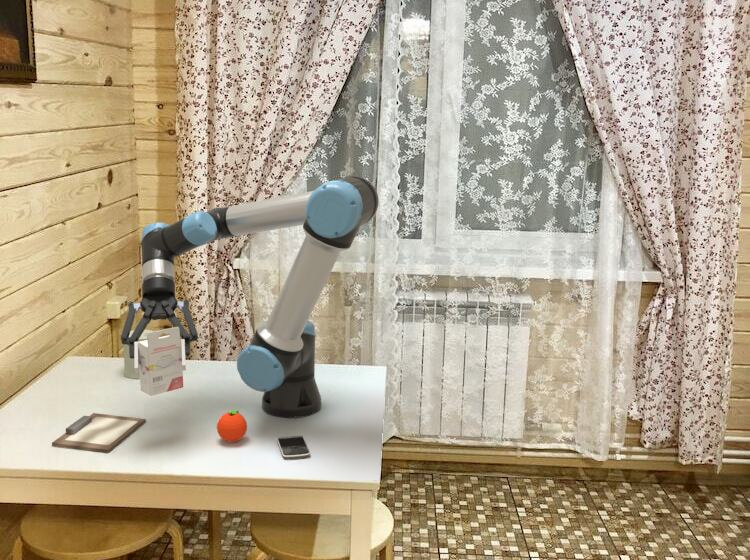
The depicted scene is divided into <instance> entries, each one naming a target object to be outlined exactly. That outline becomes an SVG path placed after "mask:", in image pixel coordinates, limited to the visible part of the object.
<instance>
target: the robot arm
mask: <svg viewBox="0 0 750 560" xmlns="http://www.w3.org/2000/svg"><path fill="white" fill-rule="evenodd" d="M379 202H380V199H379V194H378V191H377V189H376V187H375V186H374V184H372V182H371V181H369V180H368V179H366V178H364V177H362V176H358V175H348V176H345V177H341V178H339V179H337V180H331V181H330V180H329V181H327V182H324V183H322V184H321V185H320V186H318V187H317V188H316V189H314V190H310V191H305V192H300V193H294V194H288V195H284V196H279V197H274V198H268V199H263V200H257V201H252V202H248V203H242V204H237V205H232V206H231V205H230V206H227V207H226V206H225V207H224V206H223V207H222V206H221V207H220V206H219V207H215V208H211V210H207V211H204V210H198V211H195V212H193V213H190V214H187V216H185V217H184V218H180V219H179V220H178V221H176V222H174V223H172V224H170V225H169V224H167V223H166V222H160V221H159V222H156V223H153V222H152V223H149V224H147V225H146V226H144V227H143V229H142V232H141V242H140V247H141V282H142V284H141V298H142V299H141V301H140V302H137V303H134V302H132V301H130V302H128V305H127V306H128V313H127V316H126V319H125V321H124V322H125V323H124V326H123V330H122V332H121V334H120V341H121V344H122V345H123V344H124V345H125V344H127V345H129V355H130V358H134V363H135V373H139V356H138V342H137V341H138V340H139V338H140V336H141V335H142V333H143V331H144V330H146V329H147V326H148V325H149V324H150V323H151V321H157V320H168V321H169V323H171V326H173V328H174V327H179V330H180V340H181V348H182V371H186V370H187V368H186V366H187V365H186V356H190V354H191V343H192V342H196V341H198V337H199V336H198V331H197V328H196V325H195V322H194V319H193V317H192V313H191V311H190V301H189V300H188V299H184V300H183V301H178V299H176V284H175V280H176V279H175V278H176V277H175V274H176V273H175V258H178V257H180V256H182V255H184V254H186V253H188V252H190V251H192V250H194V249H196V248H199V247H202V246H204V245H206V244H207V245H208V244H209V243H213V242H215V241H219V240H222V239H226V238H227V239H228V238H233V237H238V236H245V235H249V234H257V233H262V232H267V231H274V230H278V229H279V230H280V229H285V228H292V227H298V226H302V230H303V232H304V234H305V237H304V239H303V241H302V244H301V246H300V248H299V249H298V253H297V255H296V257H295V259H294V261H293V263H292V265H291V267H290V270H289V272H288V275H287V277H286V279H285V281H284V284H283V285H282V288H281V290H280V292H279V294H278V297H277V299H276V301H275V304H274V305H273V308H272V310H271V312H270V314H269V317H268V319H267V320H266V321H264V322H261V323H260V324H258V326H257V328H256V329H255V332H254V335H253V336H252V338H251V341H250V342H249V345H248V346H245V347H244V348H243V349H242V350H241V351H240V353H239V355H238V356H237V360H236V370H237V373H239V377H240V379H241V381H243V383H244V384H245V385H246V386H247V387H249V388H250V389H252V390H254V391H257V392H261V393H262V392H263V395H262V397H261V407H262V408H261V409H262V410H263V411H264V412H265V413H267V414H269V415H271V416H275V417H281V418H301V417H307V416H310V415H313V414H316V413H317V412H319V409H321V408H322V397H321V396H322V395H321V394H320V390H319V387H318V385H317V382H316V378H315V369H316V367H315V365H316V336H317V335H316V329H315V325H314V323H313V322H311V321H309V320H310V317H311V316H312V313H313V311H314V309H315V307H316V306H317V302H318V301H319V298H320V296H321V294H322V292H323V290H324V288H325V285H326V284H327V281H328V279H329V276H330V275H331V273H332V271H333V269H334V266H335V264H336V262H337V260H338V258H339V255H340V254H341V252H343V251H346V250H349V249H350V248H351V246H352V244H353V242H354V239H355V238H356V235H357V233H358V232H359V229H360V227H361V226H363V225H365V224H367V223H368V222H370V221H371V220H372V219H373V218H374V216H376V213H377V211H378V209H379ZM177 308H178V309H179V310H180V311H181V312H183V317H184V320H185V322H186V325H187V328H188V331H189V333H188V332H187V330H186V329H185V327H184V326H183V325H182V323H181V322H180V320H179V319H178V317H177V316H176V314H175V311H176V310H177ZM139 310H141V311H142V312H144V313H143V315H142V317H141V319H140V321H139V322H138V324H137V325H136V327H135V329H134V332H133V333H132V335H131V337H129V334H130V331H132V327H133V324H134V321H135V318H136V314H137V313H139Z"/></svg>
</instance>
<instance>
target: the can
mask: <svg viewBox="0 0 750 560" xmlns="http://www.w3.org/2000/svg"><path fill="white" fill-rule="evenodd" d="M134 330H135V329H134ZM134 330H132V329H131V331H130V334H129V337H131V335H132V333H133V332H134ZM150 332H155V331H154V330H152V329H151V330H150V329H145V330H144V331H143V333H142V335H141V336H140V338H139V340H138V341H137V342H140V341H145V340H147V333H150ZM122 345H123V363H124V366H123V367H124V372H123V373H124V374H123V375H124V377H126V378H127V379H132V380H135V379H136V380H140V373H135V363H134V358H130V355H129V345H127V344H125V345H124V344H122Z"/></svg>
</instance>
